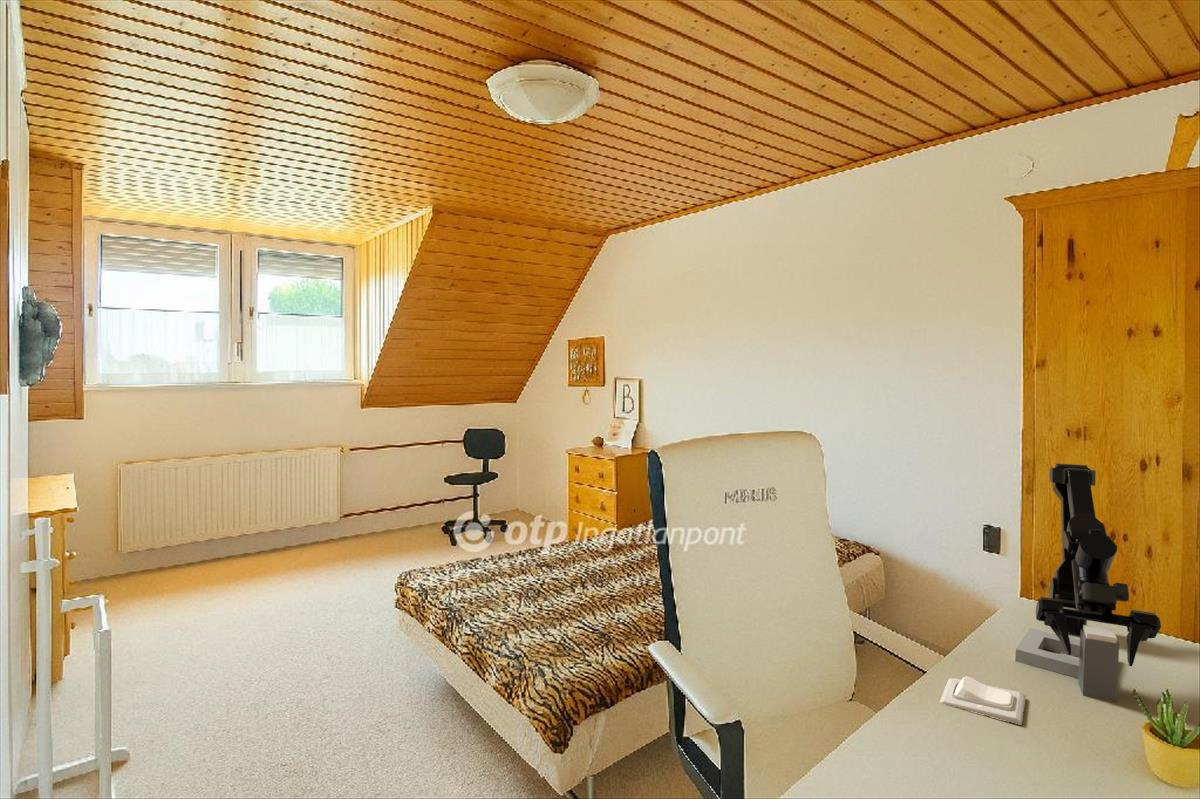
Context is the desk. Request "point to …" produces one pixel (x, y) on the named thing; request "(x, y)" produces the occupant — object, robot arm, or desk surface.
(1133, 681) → the desk surface
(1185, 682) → the desk surface
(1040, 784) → the desk surface
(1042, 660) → the socket plate
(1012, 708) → the light switch
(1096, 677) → the plug
